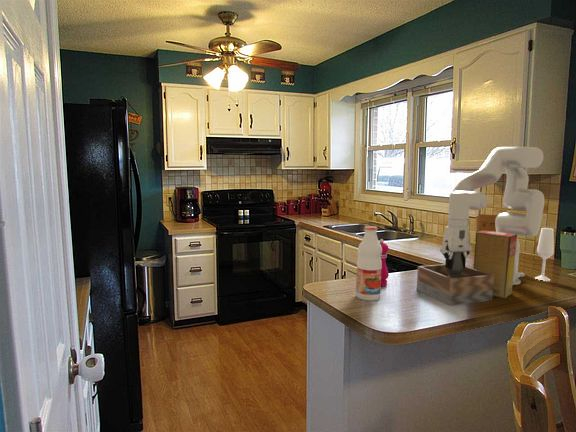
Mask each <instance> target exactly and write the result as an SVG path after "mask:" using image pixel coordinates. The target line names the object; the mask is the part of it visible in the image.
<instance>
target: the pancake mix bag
mask: <svg viewBox="0 0 576 432" xmlns="http://www.w3.org/2000/svg"><path fill="white" fill-rule="evenodd" d="M498 215H499V214H485V213H483V214H482V213H480V214H478V215H476V216H475V235H476V233H477V232H479V231H484V230H485V231H493V232H496V227H495V220H496V217H497V216H498Z"/></svg>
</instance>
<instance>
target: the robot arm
mask: <svg viewBox="0 0 576 432" xmlns="http://www.w3.org/2000/svg"><path fill="white" fill-rule="evenodd" d="M543 161H544V152H543V151H542V150H541V148H539V147H534V146H521V145H520V146H498V147H496V148H494V149H493V150H492V151H491V152H490V154H489V155H488V156H487V158H486V160H485V161H483V164H482V165H481V166H480V168H479V169H478V170H476V171H474V172H473V173H471V174H469V175H467V176H465V177H463V179H461V180H460V181H459V182H457V184H456V186H455V187H454V188H453V190H452V192H450V194H449V199H448V200H449V202H448V216H447V217H448V218H447V226H445V229H444V232H443V238H442V246H441V248H440V249H439V252H440V253H441V254H442V256H443V257H444V258H445V263H444V264H445V267H446V268H448V269H452V262H453V260H452V259H451V258H452V255H453V253H454V252H459V251H461V257H462V263H463V268H465V266H466V261H467V259H468V255H470V253H471V252H472V251H473V247H472V245H471V234H470V233H471V232H470V227H469V224H470V223H471V221H470V211H480V210H484V209H485V208H486V207H487V205H488V201H489V199H488V196H487V195H486V194H485V193H484V192H482V191H475V190H477V189H480V188H484V187H488V186H492V185H494V184H496V183H497V182H498V181H499V180H500V179H501V177H502V176H503V173H504V172H505V176H506V182H505V187H504V192H503V193H504V194H503V199H502V204H503V206H504V207H505V208H506V209H508V210H514V211H515V210H516V211H521V212H522V211H523V212H526V213H519V212H509V211H506V212H500V213H499V214H497V215H498V216H497V217H496V220H495V227H496V232H501V233H509V234H517V236H521V237H522V236H523V237H529V238H530V237H535V236H537V235H538V233H539V231H540V230H541V229H540V228H541V224H542V219H543V214H544V208H545V196H544V195H545V194H544V193H543V192H542V191H541V190H538V189H531V188H529V189H528V187H529V181H530V179H529V175H528V173H527V171H526V170H525V168H526V169H527V168H528V169H529V168H530V169H532V168H533V169H534V168H538V167H540V166H541V164H542V163H543ZM460 230H465V238H464V239H462V241H461V239H459V232H460ZM459 245H463V247H461V248H460V247H458V246H459ZM520 248H521V244H520V241H519V237H517V242H516V253H515V262H514V273H513V285H512V286H519V285H520V284H521V282H522V281H521V280H520V279H519V278H523V277H525V272H520V271H519V272H518V270H519V260H520V259H519V258H520Z"/></svg>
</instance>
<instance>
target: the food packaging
mask: <svg viewBox="0 0 576 432" xmlns="http://www.w3.org/2000/svg"><path fill="white" fill-rule="evenodd" d="M475 233H476V232H475ZM517 238H518V235H517V234H509V233H501V232H493V231H485V230H484V231H479V232H477V233H476V234H475V245H474V254H473V255H474V256H473V257H474V258H473V267H472V268H473V269H476V270H479V271H482V272H485V273H488V274H491V275H494V283H493V295H492V297H495V296H496V297H495V298H501V299H507V297H509V296H511V295H512V293H513V286H514V285H513V273H514V262H515V253H516V242H517Z"/></svg>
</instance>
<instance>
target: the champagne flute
mask: <svg viewBox="0 0 576 432" xmlns="http://www.w3.org/2000/svg"><path fill="white" fill-rule="evenodd" d="M540 228H541V229H540V234H539V238H538V244H537V247H536V253H537V254H538V256H539V257H540V258H541V259H542V265H541V274H540V275H537V276H535V277H534V278H535V279H534V280H536V279H538V280H537V281H540V280H543V281H542V282H551V281H550V280H551V279H550V278H548V276H546V275H545V274H546V273H545V272H546V262H547V259H549V258H551V257H552V256H553V255H554V254H555V243H554V242H555V240H554V239H555V232H554V231H555V229H554V228H552V227H551V228H550V227H540Z"/></svg>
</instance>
